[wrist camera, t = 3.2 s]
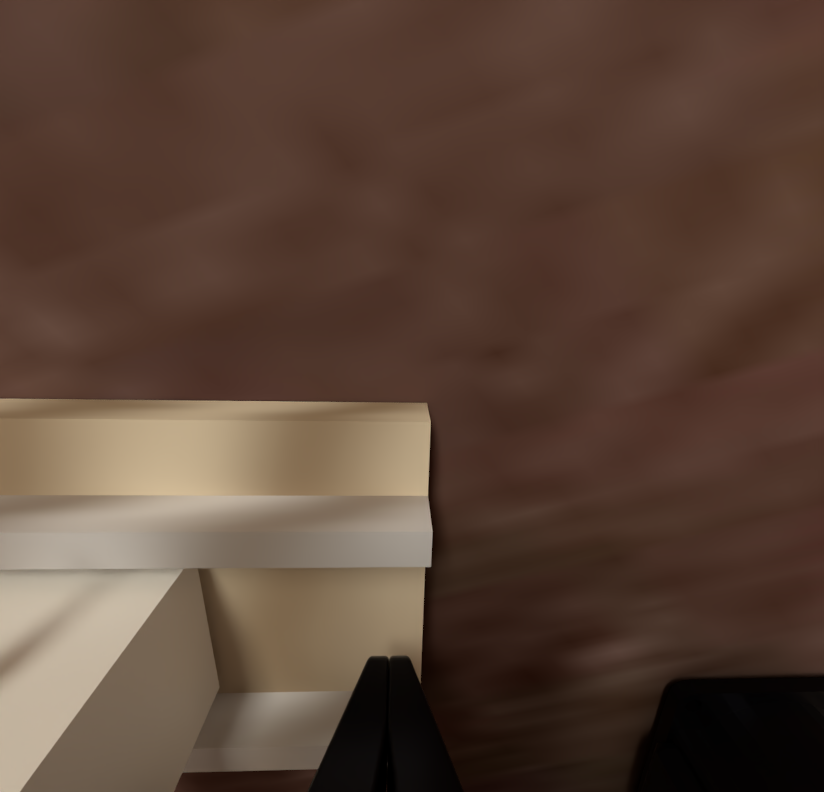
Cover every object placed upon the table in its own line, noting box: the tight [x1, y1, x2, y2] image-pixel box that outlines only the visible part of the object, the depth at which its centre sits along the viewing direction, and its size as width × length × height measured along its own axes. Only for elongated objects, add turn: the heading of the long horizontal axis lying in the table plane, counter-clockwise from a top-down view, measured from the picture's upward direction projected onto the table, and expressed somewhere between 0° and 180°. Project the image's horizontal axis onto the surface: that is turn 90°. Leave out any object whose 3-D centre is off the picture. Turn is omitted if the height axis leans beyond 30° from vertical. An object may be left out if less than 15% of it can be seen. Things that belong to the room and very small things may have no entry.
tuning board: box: [0, 399, 433, 773], centre depth 9 cm, size 18×10×2 cm, turn 89°
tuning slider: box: [0, 568, 219, 792], centre depth 7 cm, size 4×9×4 cm, turn 179°
